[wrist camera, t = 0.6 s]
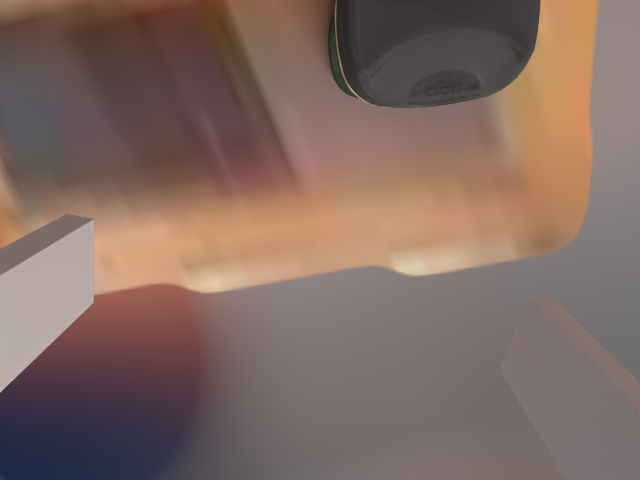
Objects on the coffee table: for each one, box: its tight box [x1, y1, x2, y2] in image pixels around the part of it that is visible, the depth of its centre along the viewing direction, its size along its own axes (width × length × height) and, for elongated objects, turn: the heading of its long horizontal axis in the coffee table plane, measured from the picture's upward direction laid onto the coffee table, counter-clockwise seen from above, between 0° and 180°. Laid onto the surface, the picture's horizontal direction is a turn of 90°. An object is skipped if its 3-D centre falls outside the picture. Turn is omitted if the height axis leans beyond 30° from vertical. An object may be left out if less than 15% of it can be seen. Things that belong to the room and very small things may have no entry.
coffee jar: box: [328, 0, 540, 108], centre depth 27 cm, size 10×8×19 cm
